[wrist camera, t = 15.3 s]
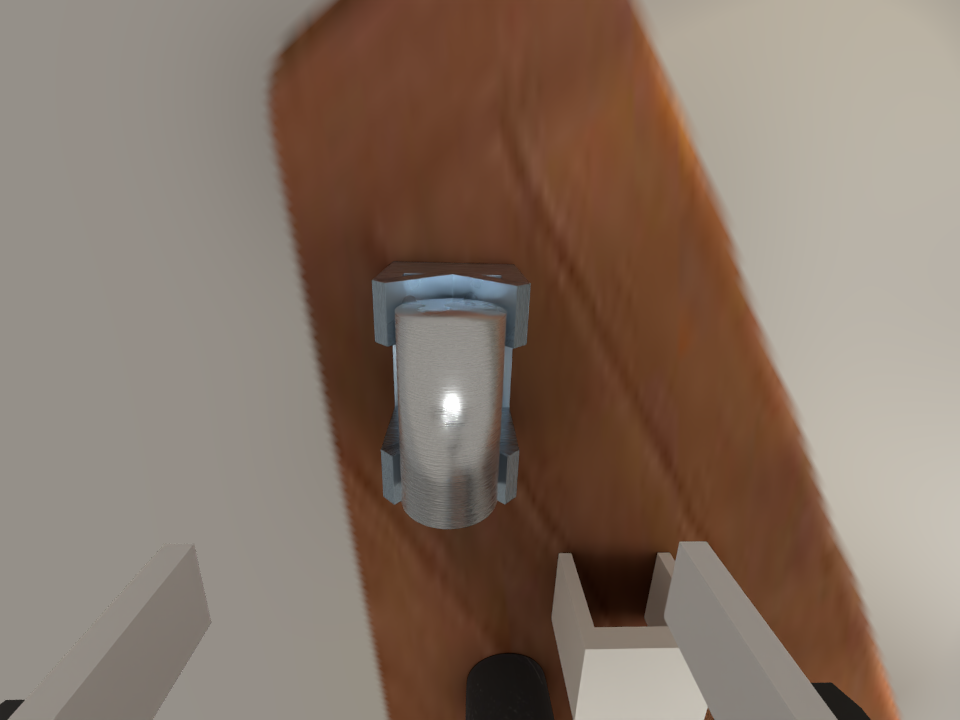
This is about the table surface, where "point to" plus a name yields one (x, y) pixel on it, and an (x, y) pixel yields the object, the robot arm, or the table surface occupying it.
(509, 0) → the table surface
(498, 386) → the axle
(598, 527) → the table surface
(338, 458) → the table surface
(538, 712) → the travel mug
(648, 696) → the u shaped block
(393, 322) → the v block
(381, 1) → the table surface
